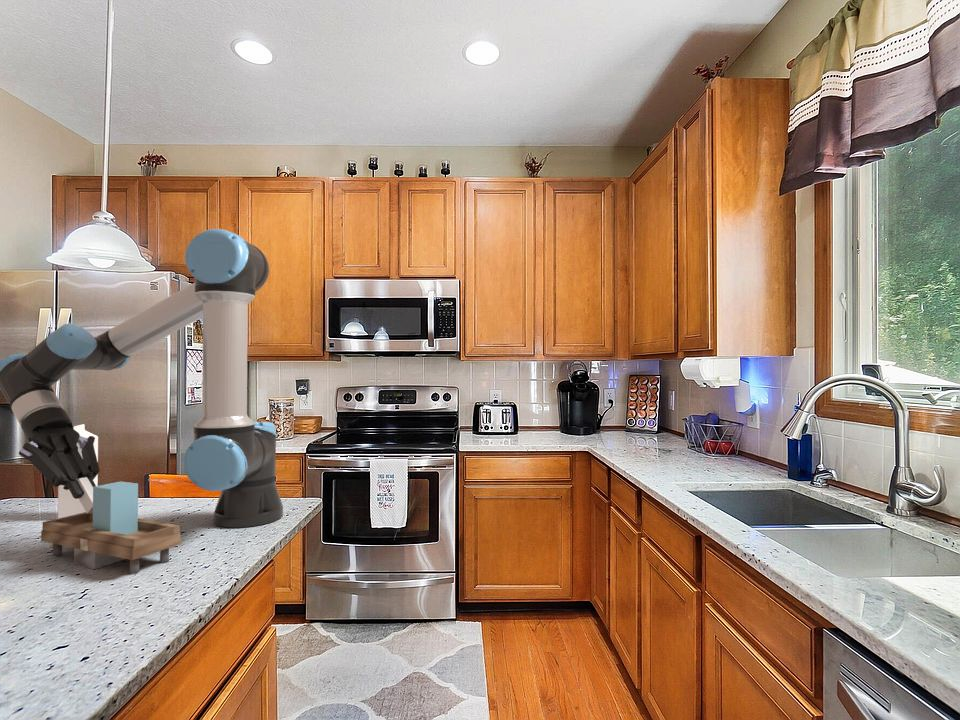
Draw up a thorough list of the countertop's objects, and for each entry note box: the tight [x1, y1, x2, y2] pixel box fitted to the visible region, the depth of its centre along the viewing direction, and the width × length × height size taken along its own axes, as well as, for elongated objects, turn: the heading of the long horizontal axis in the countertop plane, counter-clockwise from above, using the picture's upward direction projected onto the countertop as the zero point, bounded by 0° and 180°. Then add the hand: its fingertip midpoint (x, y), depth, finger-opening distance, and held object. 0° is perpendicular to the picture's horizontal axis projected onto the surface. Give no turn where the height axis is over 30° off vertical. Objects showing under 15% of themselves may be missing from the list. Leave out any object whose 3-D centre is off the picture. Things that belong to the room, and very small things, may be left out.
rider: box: [93, 481, 139, 535], centre depth 98 cm, size 5×5×9 cm
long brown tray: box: [40, 512, 182, 575], centre depth 99 cm, size 26×9×7 cm, turn 67°
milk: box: [57, 423, 99, 519], centre depth 128 cm, size 6×6×22 cm
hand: (94, 508), depth 101 cm, fingers closed
